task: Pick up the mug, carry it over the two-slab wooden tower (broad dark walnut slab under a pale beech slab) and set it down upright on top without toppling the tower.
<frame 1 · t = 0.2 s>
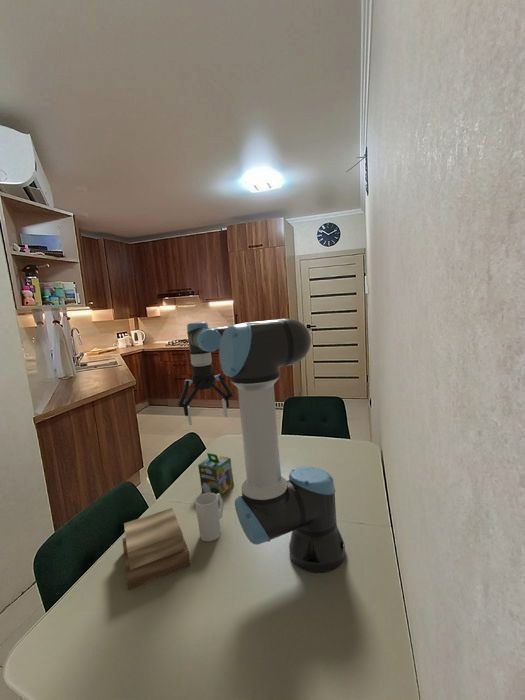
hand: (208, 420, 130), 28 cm above the table, fingers open, 13 cm apart
walnut slab: (156, 560, 99), on the table
chalk box: (217, 489, 133), on the table
mug: (214, 532, 108), on the table
beech slab: (154, 544, 98), point 4 cm above the table
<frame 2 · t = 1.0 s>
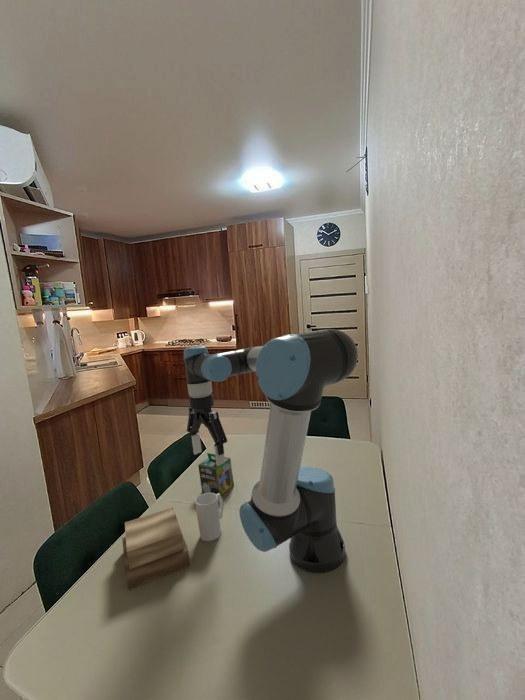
hand: (208, 458, 113), 21 cm above the table, fingers open, 13 cm apart
walnut slab: (156, 559, 99), on the table, touching beech slab
beech slab: (154, 543, 98), point 4 cm above the table, touching walnut slab
everything else where it was.
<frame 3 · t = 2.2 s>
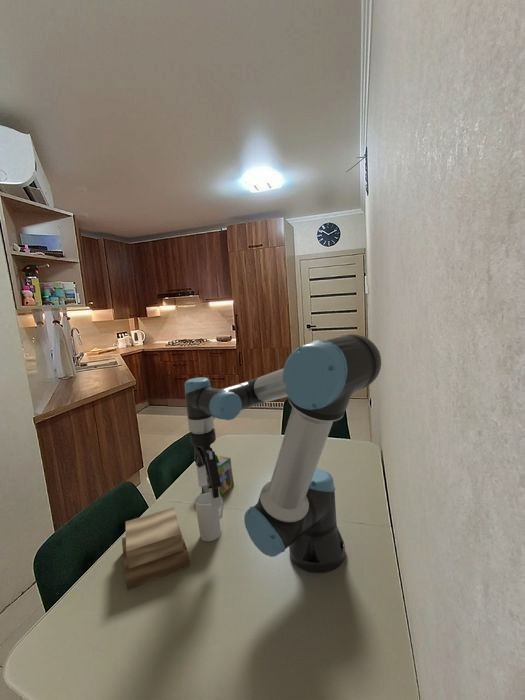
hand: (209, 495, 106), 12 cm above the table, fingers open, 13 cm apart
nothing on the table moved.
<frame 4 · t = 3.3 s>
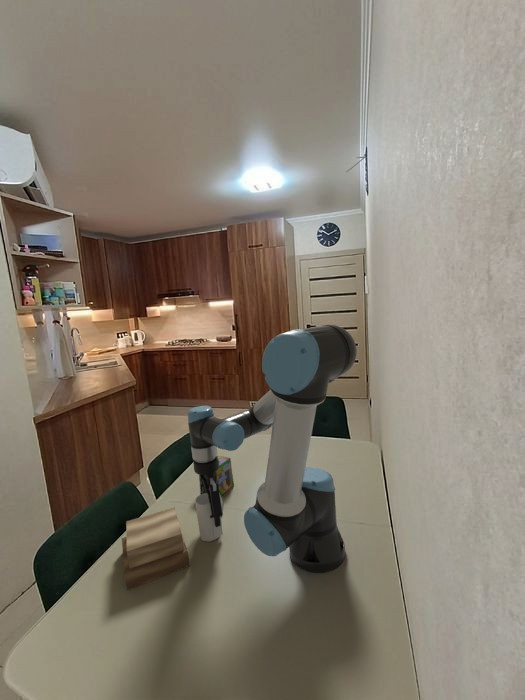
hand: (213, 526, 107), 2 cm above the table, fingers open, 8 cm apart
walnut slab: (155, 560, 98), on the table
mug: (214, 532, 108), on the table, touching gripper
beech slab: (155, 543, 98), point 4 cm above the table
everything else where it was.
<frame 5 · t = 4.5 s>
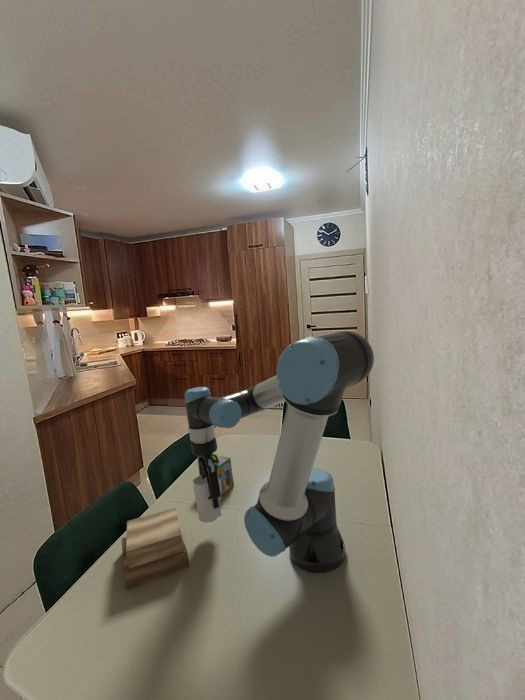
hand: (213, 510, 106), 7 cm above the table, fingers closed on mug, 6 cm apart
mug: (213, 514, 107), point 6 cm above the table, touching gripper
everything else where it was.
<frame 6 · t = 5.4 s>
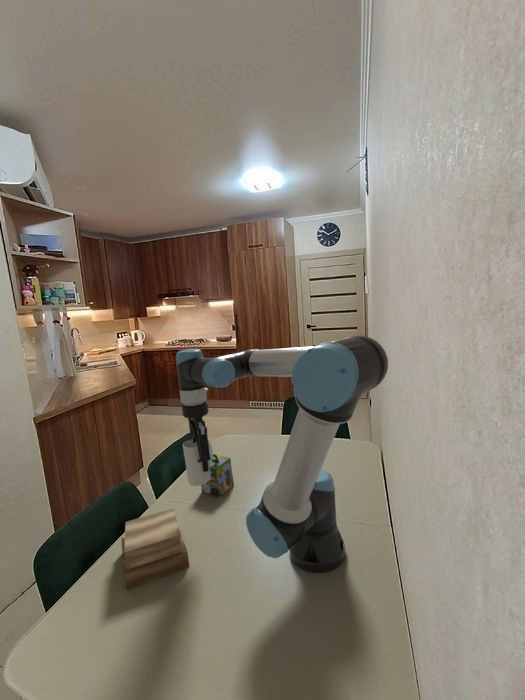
hand: (203, 475, 105), 19 cm above the table, fingers closed on mug, 6 cm apart
walnut slab: (155, 560, 98), on the table, touching beech slab
mug: (203, 479, 106), point 18 cm above the table, touching gripper
beech slab: (153, 544, 98), point 4 cm above the table, touching walnut slab
everything else where it was.
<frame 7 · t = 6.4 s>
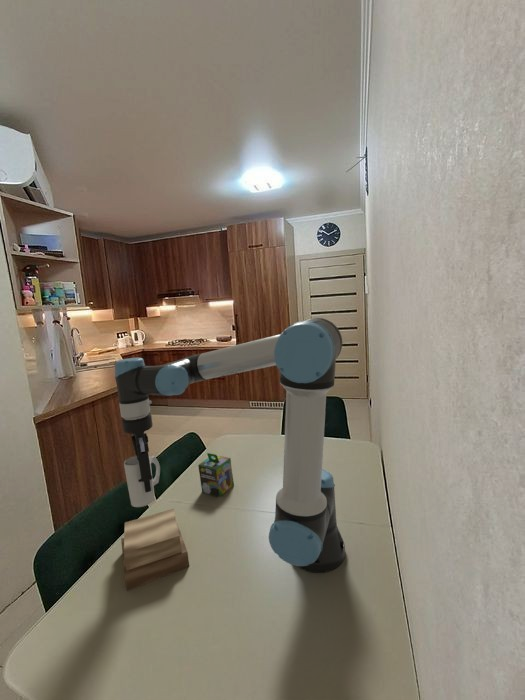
hand: (147, 495, 96), 19 cm above the table, fingers closed on mug, 6 cm apart
mug: (148, 498, 97), point 18 cm above the table, touching gripper
everything else where it was.
when the fingers open (12 cm above the table, at t = 8.5 s): mug drops 1 cm, point 10 cm above the table.
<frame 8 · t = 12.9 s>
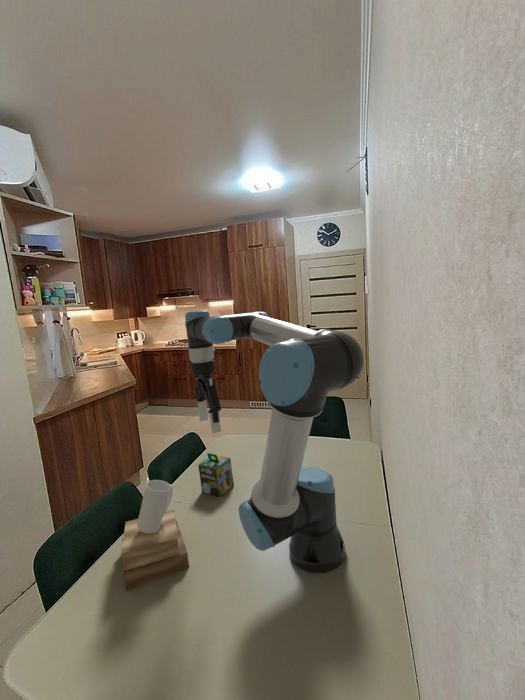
hand: (209, 425, 111), 32 cm above the table, fingers open, 13 cm apart
mug: (152, 525, 98), point 10 cm above the table
everything else where it was.
at the end: mug inside the target area on the beech slab (0.9 cm from its centre), point 5.1 cm above the beech slab's base; beech slab tilted 0°; mug tilted 12° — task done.
